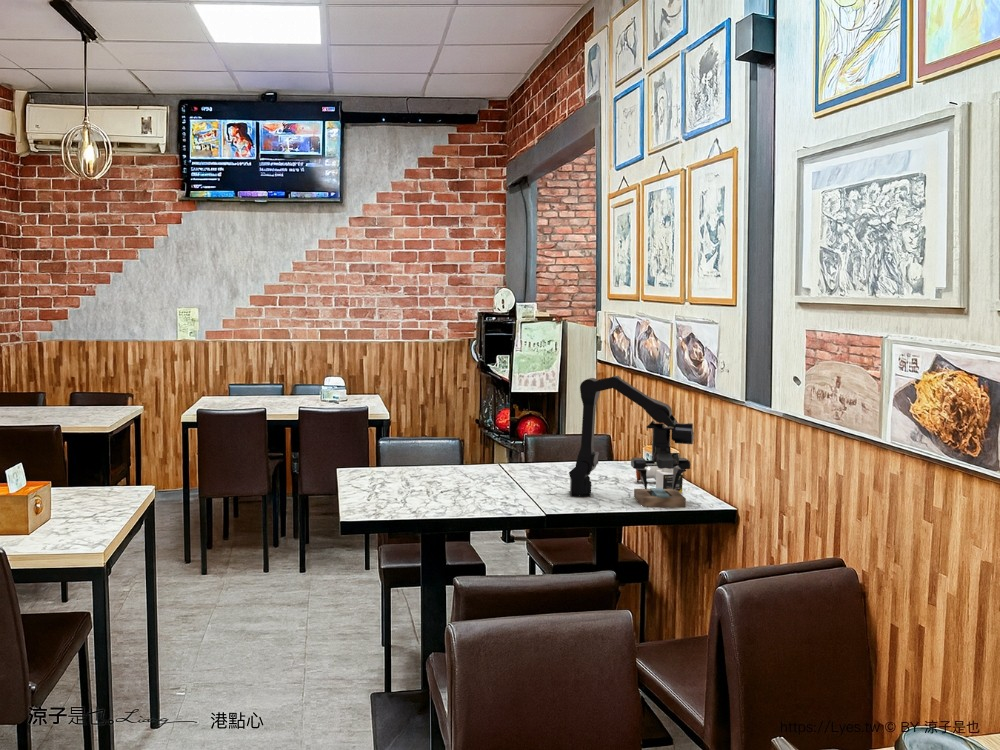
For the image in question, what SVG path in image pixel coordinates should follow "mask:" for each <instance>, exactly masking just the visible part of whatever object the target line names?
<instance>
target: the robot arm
mask: <svg viewBox="0 0 1000 750" xmlns="http://www.w3.org/2000/svg"><path fill="white" fill-rule="evenodd" d="M610 389H613V390H615V391H617V392H618V393H620V394H621V395H623V396H624V397H625V398H627V399H629V400H631V401H632V402H634V403H635V404H636V405H638V406H640V407H641V408H642V409H643V410H644V411H645V412H646V413H647V414H648V415H649V417H651V419H653V420H651V421H650V423H649V424H648V425H647V426H646V429H652V443H651V449H652V450H651V459H650V460H646V459H645V458H644V457H632V458H631V460H630V467H632V469H635V471H636V470H637V471H639V473H640V475H641V478H642V481H643V482H642V481H641V482H642V484H643V487H644V489H648V479H647V478H646V472H647V470H646V469H645V467H649V466H658V468H660V469H663V468H669V469H672V468H673V466H676V467H674V469H673V482H672V488H673V490H674V489H675V487H676V484H677V482H678V479H679V477H680V475H681V474H682V473H684V472H685V473H686V472H687V470H691V461H690V460H689V459H688V458H686V457H680V454H679V453H677V452H672V451H671V441H673V442H674V444H680V445H681V444H683V445H693V444H694V439H695V432H694V424H693V423H691V422H688V423H684V422H683V423H681V422H678V420H677V419H676V418H675V416H674V415H673V409H672V407H671V406H670V405H669V404H667V403H665V402H663V401H661V400H657V399H656V398H655V399H654V398H652V397H650V396H648V395H647V394H645V393H644V392H642V391H641V390H640V389H638V388H636V387H635V386H633V385H632V384H630V383H628V382H627V381H626V380H624V379H622V378H621V376H619V375H613V376H610V377H605V378H600V379H597V378H595V377H590V378H587V379H585V380H583V381H582V382H581V383H580V386H579V393H580V398H581V401H582V421H581V422H582V423H581V437H580V438H581V439H580V449H579V452H578V454H577V457H576V462H575V466H574V467H573V468H572V469H571V470H570V471H569V472H568V474H569V478H570V480H569V481H570V482H569V483H570V484H569V490H568V494H569V495H570V496H571V497H591V494H592V480H591V477H590V476H591V472H593V471H594V470H595V469H596V467H597V465H598V464H599V460H598V459H599V454H600V453H599V452H600V451H595V446H594V444H595V428H596V426H595V424H596V413H597V412H596V411H597V410H596V409H597V408H596V407H597V405H598V401H599V397H600V394H601V392H603V391H607V390H610ZM655 462H656V463H655Z"/></svg>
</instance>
